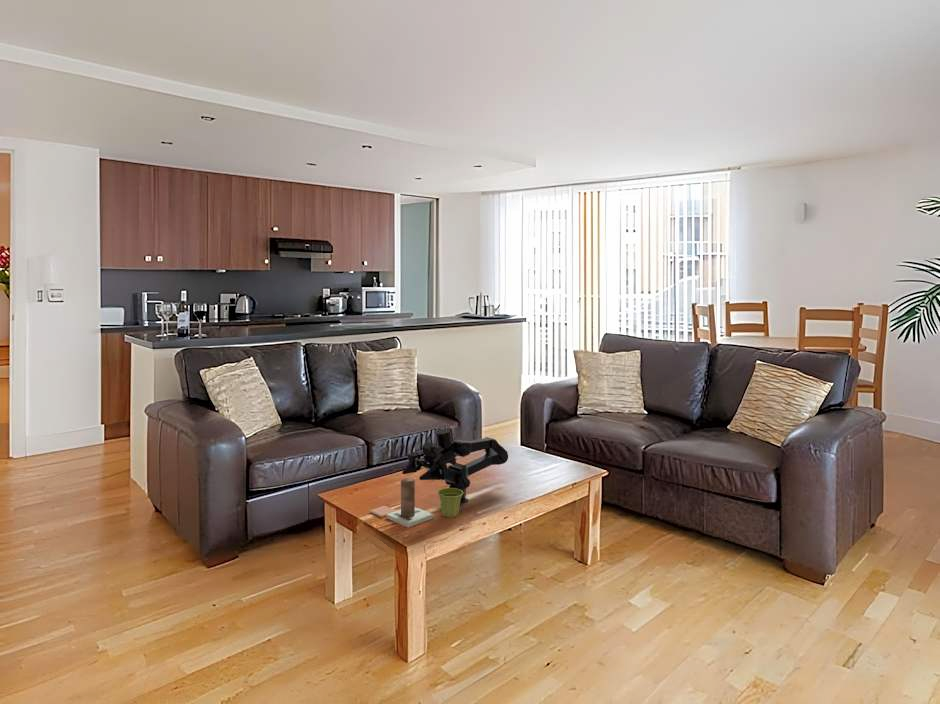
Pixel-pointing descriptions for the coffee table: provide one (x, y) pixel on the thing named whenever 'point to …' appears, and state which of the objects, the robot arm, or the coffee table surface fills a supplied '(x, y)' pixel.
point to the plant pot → (450, 501)
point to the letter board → (410, 521)
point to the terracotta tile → (382, 511)
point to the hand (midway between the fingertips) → (411, 475)
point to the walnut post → (407, 497)
